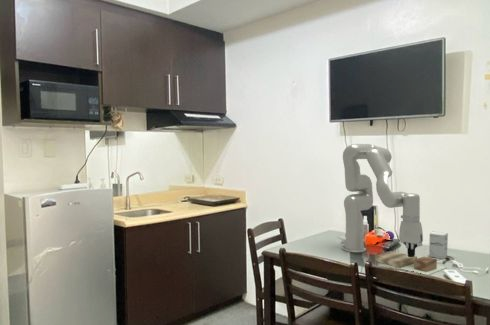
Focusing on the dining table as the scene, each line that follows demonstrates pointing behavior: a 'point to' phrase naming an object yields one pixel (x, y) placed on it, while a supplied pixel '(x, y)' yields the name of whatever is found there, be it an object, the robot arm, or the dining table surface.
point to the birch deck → (395, 259)
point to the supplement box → (438, 245)
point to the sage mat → (411, 268)
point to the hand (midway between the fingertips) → (411, 256)
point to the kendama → (390, 234)
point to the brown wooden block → (425, 264)
